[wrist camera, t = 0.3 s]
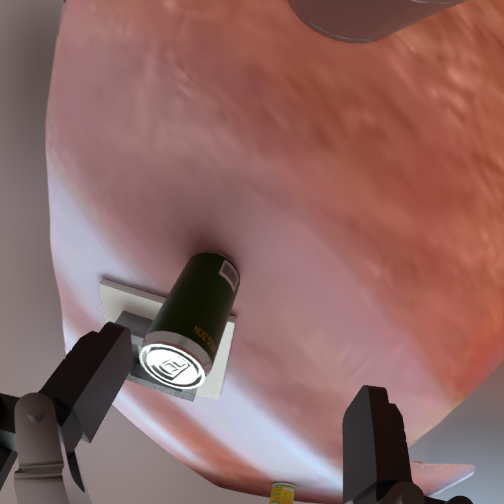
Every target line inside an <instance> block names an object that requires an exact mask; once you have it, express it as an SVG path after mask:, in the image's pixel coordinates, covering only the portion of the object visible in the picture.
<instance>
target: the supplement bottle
mask: <svg viewBox="0 0 504 504" xmlns="http://www.w3.org/2000/svg"><path fill="white" fill-rule="evenodd" d="M294 490H295V486H294V485H293V484H290V483H283V482H279V483H274V484H273V485H272V491H271V497H270V502H269V504H293V497H294Z"/></svg>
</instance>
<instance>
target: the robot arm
mask: <svg viewBox="0 0 504 504" xmlns="http://www.w3.org/2000/svg"><path fill="white" fill-rule="evenodd" d="M288 1H289V3H290V5H291V7H292V8H293V10H294V12H295V13H296V14H297V15H298V16H299V18H300V19H301V20H302V21H303V22H304V23H305V24H307V25H308V26H309V27H310V28H312V29H313V30H315V31H317V32H318V33H320V34H322V35H324V36H326V37H329V38H332V39H335V40H337V41H343V42H349V43H366V42H371V41H376V40H379V39H381V38H384V37H386V36H388V35H390V34H392V33H394V32H397V31H399V30H401V29H403V28H405V27H407V26H409V25H411V24H414V23H416V22H418V21H420V20H422V19H424V18H427V17H429V16H431V15H433V14H436V13H438V12H440V11H443V10H445V9H448V8H450V7H452V6H455V5H457V4H460V3H463V2H465V1H468V0H288ZM132 363H133V352H132V341H131V331H130V328H128V327H125V326H122V325H119V324H116V323H113V322H111V321H109V322H107V323H106V324H105V325H104V327H103V328H102V329H101V331H100V332H99V333H97V332H95V331H91V332H89V333H88V334H86V335H84V336H83V337H81V338H80V339H79V340H78V341H77V343H76V344H75V345H74V346H73V348H72V350H70V352H69V353H68V354H67V355H66V358H65V359H63V361H62V362H61V364H60V365H59V366H58V367H57V369H56V370H55V371H54V373H53V374H52V376H51V377H50V378H49V379H48V381H47V382H46V384H45V385H44V386H43V388H42V389H41V390H40V391H39V392H37V393H29V394H26V395H24V396H22V397H21V398H20V397H14V396H10V395H5V394H2V393H0V490H1V488H2V486H3V484H4V482H5V480H6V478H7V476H8V474H9V472H10V470H11V468H12V466H13V464H14V462H15V460H16V458H17V456H18V461H19V470H18V471H15V473H14V485H15V491H16V496H17V501H18V504H93V503H92V501H91V499H90V497H89V494H88V491H87V487H86V484H85V480H84V477H83V473H82V469H81V465H80V461H79V457H78V453H77V448H76V446H77V444H78V442H79V441H80V439H82V440H84V441H86V442H88V443H91V441H92V439H93V437H94V436H95V434H96V432H97V430H98V428H99V426H100V424H101V423H102V421H103V419H104V417H105V415H106V413H107V412H108V410H109V408H110V406H111V404H112V403H113V401H114V399H115V397H116V396H117V394H118V392H119V390H120V388H121V387H122V385H123V383H124V381H125V380H126V378H127V376H128V374H129V372H130V370H131V367H132ZM343 504H473V503H472V502H471V500H470V499H468V498H467V497H465V496H456V497H453V498H452V499H450V500H449V501H443V500H438V499H434V498H430V497H427V496H425V495H424V494H423V492H422V490H421V489H420V488H419V487H418V486H417V485H416V484H414V483H413V481H412V477H411V469H410V461H409V455H408V447H407V442H406V435H405V431H404V423H403V417H402V415H401V413H400V411H399V410H398V408H397V406H396V405H395V404H392V403H389V400H388V394H387V390H386V389H385V388H384V387H376V386H368V385H364V386H362V388H361V389H360V391H359V392H358V394H357V395H356V397H355V398H354V400H353V401H352V402H351V404H350V405H349V407H348V408H347V410H346V412H345V414H344V418H343Z"/></svg>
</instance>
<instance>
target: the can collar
mask: <svg viewBox="0 0 504 504" xmlns="http://www.w3.org/2000/svg"><path fill="white" fill-rule="evenodd" d="M153 321H154V320H151V319H148V318H145V317H142V316H139V315H136V314H133V313H130V312H127V311H124V310H123V311H122V313H121V314H120V316H119V317H118V319H117V320H116V322H115V323H116V324H119V325H122V326H125V327H128V328H130V331H131V341H132V352H133V363H132V367H131V370H130V372H129V374H128V376H127V378H126V379H127V380H129V381H132V382H135V383H137V384H140V385H143V386H146V387H149V388H152V389H154V390H157V391H160V392H163V393H167V394H170V395H173V396H176V397H179V398H182V399H186V400H189V401H193V400H194V398H195V395H196V392H197V389H198V387H197V388H192V389H180V388H176V387H171V386H169V385H166V384H164V383H162V382H160V381H159V380H157V379H155V378H154V377H152V376H151V375H150V374H149V373H148V372H147V371H146V370H145V369H144V367H143V366H142V364H141V362H140V359H139V352H138V345H139V346H142V340H143V338H144V337H145V335H146V333H147V331H148V329H149V328H150V326H151V324H152V322H153Z"/></svg>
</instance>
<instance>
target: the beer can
mask: <svg viewBox="0 0 504 504" xmlns="http://www.w3.org/2000/svg"><path fill="white" fill-rule="evenodd" d="M239 285H240V276H239V273H238V270H237V268H236V265H235V264H234V263H233V261H232V260H231V259H230V258H228V257H227V256H226V255H224V254H221V253H219V252H214V251H207V252H202V253H199V254H197V255H195V256H193V257H192V258H191V259H190V260H189V261H188V263H187V264H186V266H185V268H184V269H183V271H182V273H181V274H180V276H179V278H178V279H177V281H176V283H175V284H174V286H173V288H172V290H171V291H170V293H169V295H168V296H167V298H166V300H165V301H164V303H163V305H162V307H161V308H160V310H159V312H158V314H157V315H156V317H155V319H154V321H153V322H152V324H151V326H150V328H149V329H148V331H147V333H146V335H145V337H144V338H143V340H142V349H141V351H140V355H139V359H140V362H141V364H142V366H143V367H144V369H145V370H146V371H147V372H148V373H149V374H150V375H151V376H152V377H154V378H155V379H157V380H159V381H160V382H162V383H164V384H166V385H169V386H171V387H176V388H180V389H192V388H197V387H199V386H200V385H202V384H203V382H204V380H205V377H207V376H208V375H209V374H210V372H211V369H212V367H213V364H214V361H215V358H216V355H217V352H218V348H219V345H220V342H221V339H222V336H223V333H224V330H225V327H226V324H227V321H228V318H229V315H230V312H231V309H232V306H233V303H234V300H235V297H236V294H237V291H238V288H239Z"/></svg>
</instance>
